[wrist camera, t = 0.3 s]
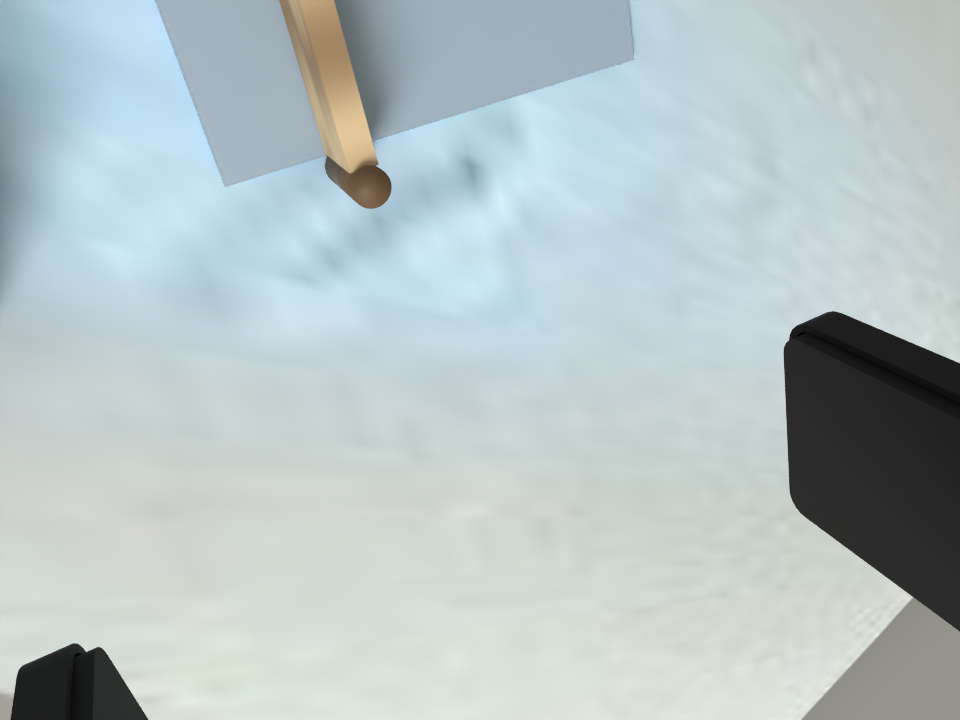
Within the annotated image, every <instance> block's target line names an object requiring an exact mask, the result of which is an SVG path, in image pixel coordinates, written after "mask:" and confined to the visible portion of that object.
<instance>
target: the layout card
mask: <svg viewBox="0 0 960 720" xmlns="http://www.w3.org/2000/svg"><path fill="white" fill-rule="evenodd" d="M155 1H156V4H157V6H158V9H159V12H160V14H161V17H162V20H163V22H164V25H165V28H166V30H167V33H168V36H169V38H170V41H171V44H172V46H173V49H174V52H175V54H176V57H177V60H178V63H179V65H180V68H181V71H182V73H183V76H184V79H185V81H186V84H187V87H188V89H189V92H190V95H191V97H192V100H193V103H194V105H195V108H196V111H197V113H198V116H199V119H200V121H201V124H202V127H203V130H204V132H205V135H206V138H207V140H208V143H209V146H210V148H211V151H212V154H213V156H214V159H215V162H216V164H217V167H218V170H219V172H220V175H221V178H222V180H223V183H224V186H225V187H227V186H230V185H233V184H236V183H240V182H243V181H246V180H249V179H252V178H256V177H259V176H262V175H265V174H268V173H272V172H275V171H278V170H281V169H284V168H288V167H291V166H294V165H297V164H300V163H304V162H307V161H310V160H313V159H317V158H320V157H323V156H326V154H325V151H324V147H323V144H322V141H321V137H320V134H319V131H318V127H317V124H316V121H315V117H314V114H313V111H312V108H311V104H310V101H309V98H308V94H307V91H306V88H305V84H304V81H303V78H302V74H301V71H300V68H299V64H298V61H297V58H296V55H295V51H294V48H293V45H292V41H291V38H290V35H289V31H288V28H287V25H286V21H285V18H284V15H283V12H282V8H281V5H280V2H279V0H155ZM334 2H335V6H336V9H337V13H338V17H339V20H340V24H341V28H342V32H343V35H344V39H345V43H346V46H347V50H348V54H349V57H350V61H351V65H352V69H353V72H354V76H355V80H356V83H357V87H358V91H359V94H360V98H361V102H362V105H363V109H364V113H365V117H366V120H367V124H368V128H369V131H370V135H371V139H372V141H374V140H377V139H381V138H384V137H387V136H390V135H394V134H397V133H400V132H403V131H406V130H410V129H413V128H416V127H419V126H422V125H426V124H429V123H432V122H435V121H438V120H442V119H445V118H448V117H451V116H454V115H458V114H461V113H464V112H467V111H471V110H474V109H477V108H480V107H483V106H487V105H490V104H493V103H496V102H499V101H503V100H506V99H509V98H512V97H515V96H519V95H522V94H525V93H528V92H531V91H535V90H538V89H541V88H544V87H548V86H551V85H554V84H557V83H560V82H564V81H567V80H570V79H573V78H576V77H580V76H583V75H586V74H589V73H592V72H596V71H599V70H602V69H605V68H608V67H612V66H615V65H618V64H621V63H625V62H628V61H631V60H634V54H633V44H632V34H631V25H630V15H629V5H628V0H334Z"/></svg>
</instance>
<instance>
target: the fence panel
mask: <svg viewBox="0 0 960 720" xmlns="http://www.w3.org/2000/svg"><path fill="white" fill-rule="evenodd" d="M279 2H280V5H281V8H282V12H283V15H284V18H285V21H286V25H287V28H288V31H289V35H290V38H291V41H292V45H293V48H294V51H295V55H296V58H297V61H298V64H299V68H300V71H301V74H302V78H303V81H304V84H305V88H306V91H307V94H308V98H309V101H310V104H311V108H312V111H313V114H314V117H315V121H316V124H317V127H318V131H319V134H320V137H321V141H322V144H323V147H324V151H325V154H326V155H327V156H328V157H327V159H326V163H325V169H326V173H327V175H328V177H329V178H330V179H331V180H332V181H333V182H334V183H335V184H337V185H338V186H339V187H340V188H341V189H342V190H343V191H344V192H345V193H347V194H348V195H349V196H350V197H351V198H352V199H353V200H354V201H356V202H357V203H358V204H359V205H360V206H362V207H364V208H369V209H372V208H377V207H380V206H381V205H383V204H384V203H385V202H386V201H387V200H388V198H389V196H390V193H391V181H390V179H389V177H388V175H387V174H386V173H385V172H384V171H382V170H381V169H380V168H378V167H377V166H375V165H378V161H377V157H376V154H375V150H374V146H373V142H372V139H371V135H370V131H369V128H368V124H367V120H366V117H365V113H364V109H363V105H362V102H361V98H360V94H359V91H358V87H357V83H356V80H355V76H354V72H353V69H352V65H351V61H350V57H349V54H348V50H347V46H346V43H345V39H344V35H343V32H342V28H341V24H340V20H339V17H338V13H337V9H336V6H335V2H334V0H279Z"/></svg>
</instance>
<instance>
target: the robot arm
mask: <svg viewBox="0 0 960 720" xmlns="http://www.w3.org/2000/svg"><path fill="white" fill-rule="evenodd" d="M784 371H785V394H786V417H787V439H788V462H789V485H790V495H791V498H792V501H793V503H794V504H795V506H796V508H797V509H798V510H799V512H800V513H801V514H802V515H803V516H805V517H806V518H807V519H809V520H810V521H811V522H813V523H814V524H815V525H817V526H818V527H819V528H821V529H822V530H823V531H825V532H826V533H827V534H829V535H830V536H832V537H833V538H834V539H836V540H837V541H838V542H840V543H841V544H842V545H844V546H845V547H846V548H848V549H849V550H850V551H852V552H853V553H855V554H856V555H857V556H859V557H860V558H861V559H863V560H864V561H865V562H867V563H868V564H869V565H871V566H872V567H873V568H875V569H876V570H878V571H879V572H880V573H882V574H883V575H884V576H886V577H887V578H888V579H890V580H891V581H892V582H894V583H895V584H896V585H898V586H899V587H901V588H902V589H903V590H905V591H906V592H907V593H909V594H910V595H911V596H913V597H914V598H915V599H917V600H918V601H919V602H921V603H922V604H924V605H925V606H926V607H928V608H929V609H931V610H932V611H933V612H934V613H936V614H937V615H938V616H940V617H941V618H942V619H944V620H945V621H946V622H948V623H949V624H951V625H952V626H953V627H955V628H956V629H957V630H959V631H960V363H958V362H955V361H953V360H951V359H948V358H946V357H943V356H941V355H939V354H936V353H934V352H932V351H929V350H927V349H925V348H922V347H920V346H917V345H915V344H913V343H910V342H908V341H906V340H903V339H901V338H899V337H896V336H894V335H891V334H889V333H887V332H884V331H882V330H880V329H877V328H875V327H873V326H870V325H868V324H865V323H863V322H861V321H858V320H856V319H854V318H851V317H849V316H847V315H844V314H842V313H838V312H834V311H832V312H827V313H825V314H823V315H820V316H818V317H816V318H813V319H811V320H809V321H807V322H804V323H802V324H800V325H797V326H796V327H795V328H794V329H792V331H791V334H790V338H789V341H788V342H787V343H786V345H785V347H784ZM11 720H148V718H147V717H146V715H145V714H144V712H143V710H142V709H141V707H140V706H139V704H138V703H137V701H136V699H135V698H134V696H133V695H132V693H131V691H130V690H129V688H128V687H127V685H126V684H125V682H124V680H123V679H122V677H121V676H120V674H119V672H118V671H117V669H116V668H115V666H114V665H113V663H112V661H111V660H110V658H109V657H108V655H107V654H106V652H105V651H104V650H103V649H102V648H100V647H97V648H95V649H92V650H90V651H88V652H86V651H85V650H84V649H83V648H82V647H81V646H80V645H79V644H71V645H69V646H66V647H64V648H62V649H60V650H57V651H55V652H53V653H51V654H48V655H46V656H44V657H41V658H39V659H37V660H35V661H32V662H30V663H28V664H25V665H23V666H22V667H21V668H20V669H19V671H18V675H17V679H16V686H15V693H14V700H13V707H12V714H11Z"/></svg>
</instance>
